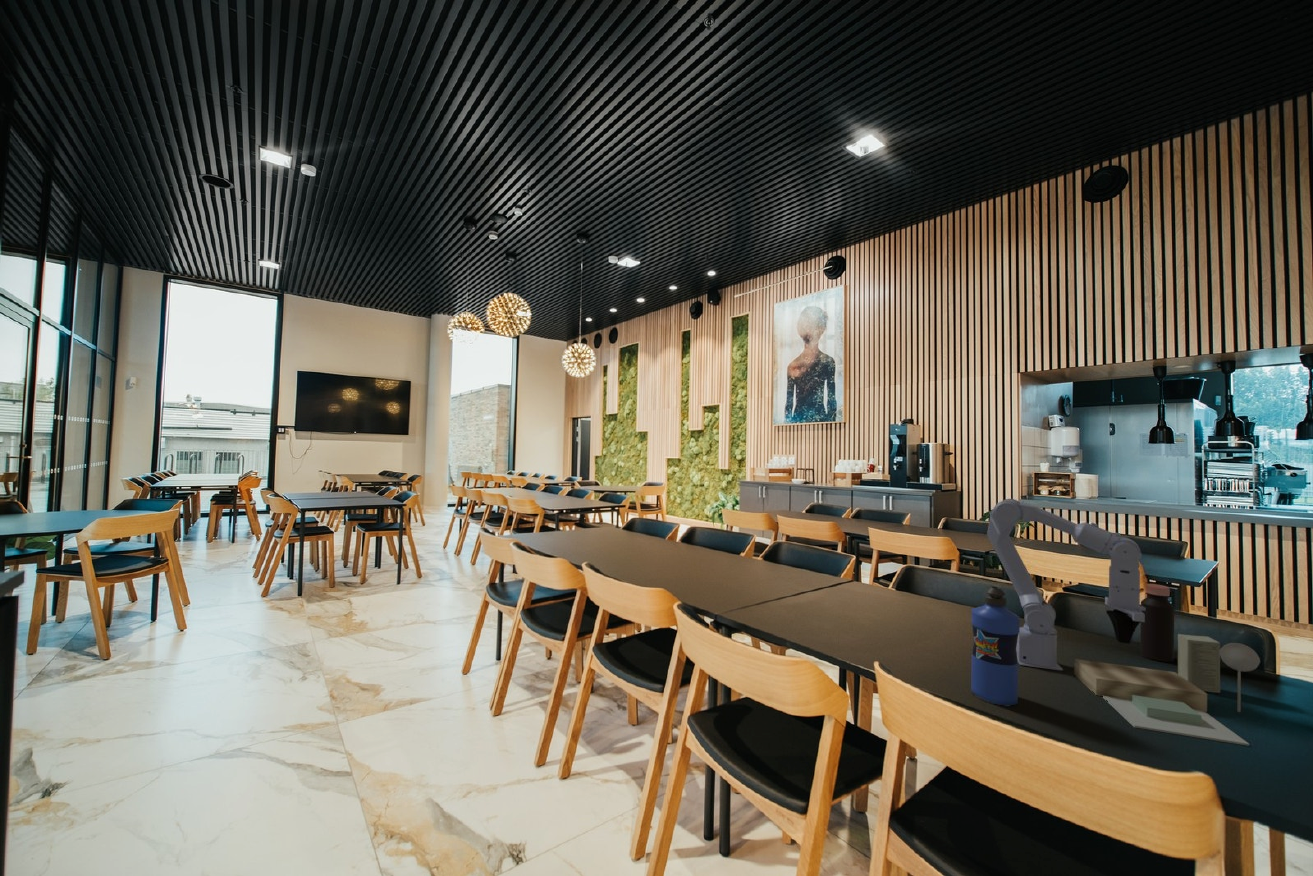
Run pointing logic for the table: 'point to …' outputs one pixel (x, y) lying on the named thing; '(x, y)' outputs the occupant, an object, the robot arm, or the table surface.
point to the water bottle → (995, 650)
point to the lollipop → (1239, 662)
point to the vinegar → (1157, 624)
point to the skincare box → (1199, 661)
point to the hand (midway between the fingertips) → (1123, 642)
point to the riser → (1138, 683)
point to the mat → (1175, 723)
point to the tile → (1166, 710)
